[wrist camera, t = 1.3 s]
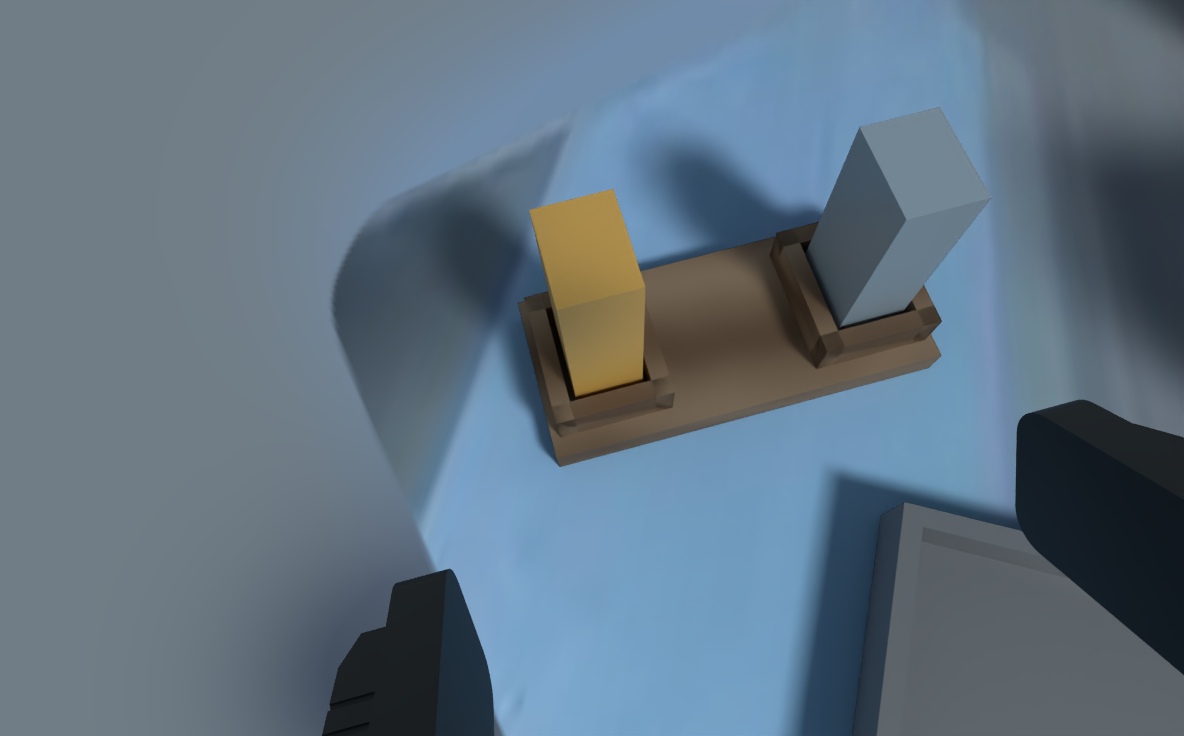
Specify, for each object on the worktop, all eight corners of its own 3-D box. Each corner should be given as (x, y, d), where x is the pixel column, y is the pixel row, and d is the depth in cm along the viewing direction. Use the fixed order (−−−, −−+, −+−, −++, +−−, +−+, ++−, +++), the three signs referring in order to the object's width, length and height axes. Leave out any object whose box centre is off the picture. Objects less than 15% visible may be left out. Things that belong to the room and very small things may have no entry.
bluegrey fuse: (799, 268, 35) (859, 127, 26) (858, 253, 35) (939, 106, 26) (830, 341, 33) (906, 219, 24) (892, 325, 33) (991, 197, 24)
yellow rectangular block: (557, 331, 34) (529, 210, 25) (618, 315, 34) (613, 188, 25) (578, 408, 33) (556, 310, 23) (642, 391, 33) (645, 287, 24)
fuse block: (522, 316, 36) (511, 283, 33) (862, 228, 37) (884, 187, 34) (559, 467, 33) (551, 446, 30) (928, 367, 34) (959, 337, 31)
